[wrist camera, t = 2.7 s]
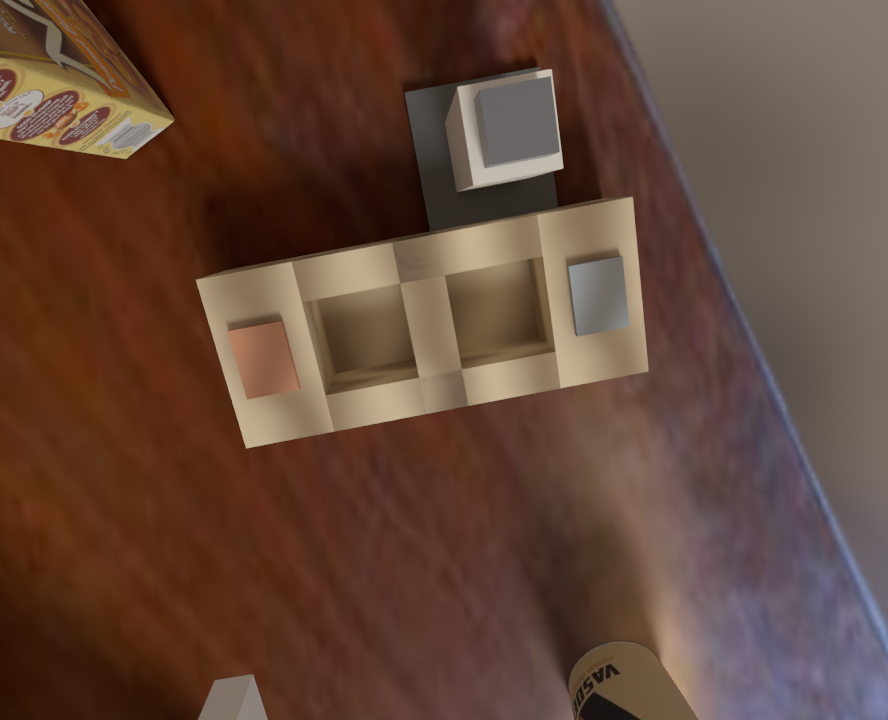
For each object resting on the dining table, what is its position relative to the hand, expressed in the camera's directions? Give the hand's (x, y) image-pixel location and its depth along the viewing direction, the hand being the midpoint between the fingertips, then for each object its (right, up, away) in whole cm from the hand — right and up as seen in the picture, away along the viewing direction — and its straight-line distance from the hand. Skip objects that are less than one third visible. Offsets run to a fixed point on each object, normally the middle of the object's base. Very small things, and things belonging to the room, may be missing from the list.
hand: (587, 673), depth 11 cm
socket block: (-4, +9, +25) cm, 27 cm away
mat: (0, +19, +23) cm, 30 cm away
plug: (0, +19, +22) cm, 29 cm away
